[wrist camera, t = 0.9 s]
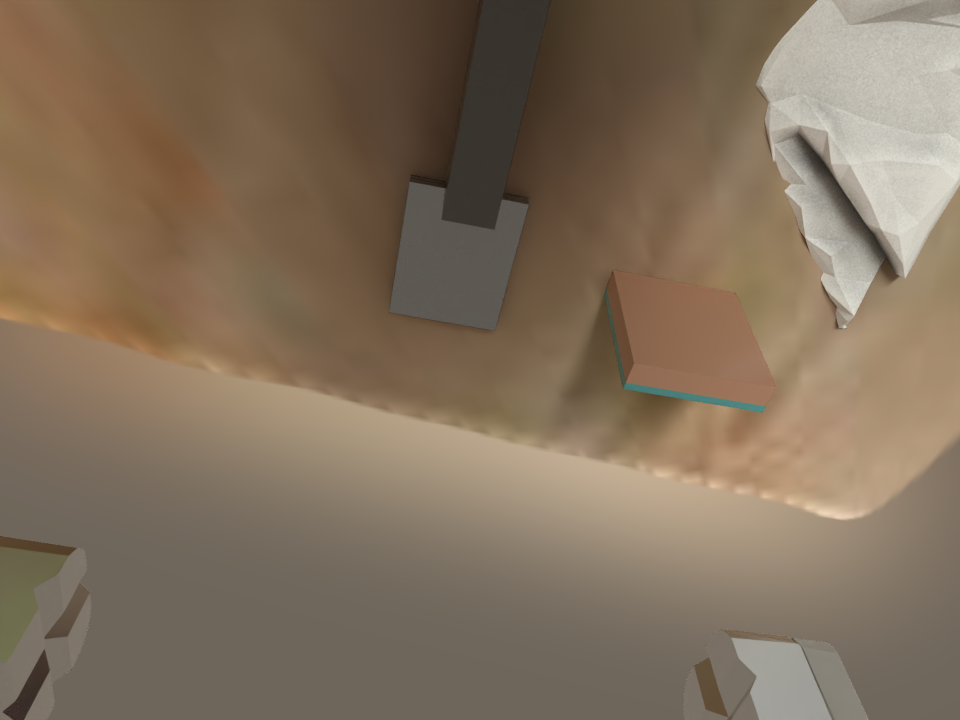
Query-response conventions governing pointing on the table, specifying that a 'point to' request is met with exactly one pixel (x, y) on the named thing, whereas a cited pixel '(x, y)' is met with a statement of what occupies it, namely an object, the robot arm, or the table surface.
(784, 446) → the table surface
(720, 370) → the tile
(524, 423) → the table surface
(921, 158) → the cloth
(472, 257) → the turner
